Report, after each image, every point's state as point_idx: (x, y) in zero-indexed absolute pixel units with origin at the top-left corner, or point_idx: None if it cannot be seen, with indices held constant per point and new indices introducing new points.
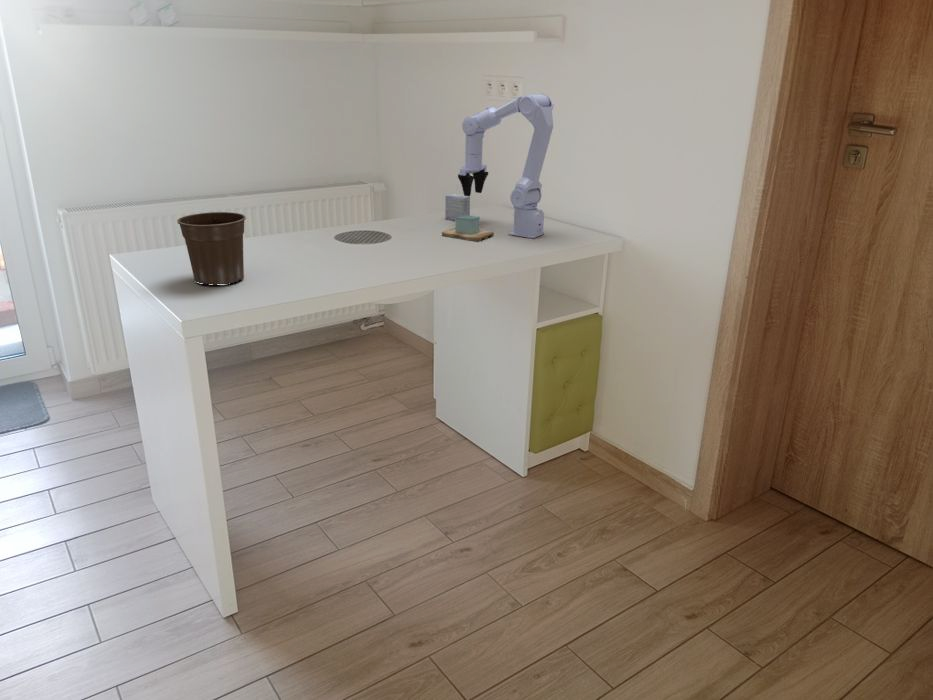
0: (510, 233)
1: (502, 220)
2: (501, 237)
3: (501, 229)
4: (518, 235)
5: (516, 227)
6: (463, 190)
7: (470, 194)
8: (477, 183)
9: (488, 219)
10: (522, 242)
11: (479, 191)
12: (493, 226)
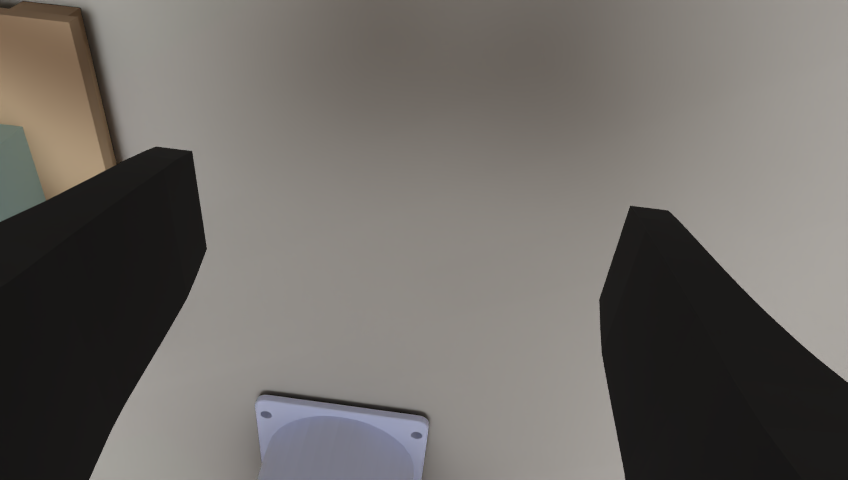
0: (257, 412)
1: (776, 224)
2: (168, 375)
3: (391, 316)
4: (262, 447)
5: (257, 478)
6: (78, 197)
7: (191, 275)
8: (665, 386)
9: (790, 82)
10: (157, 477)
11: (607, 300)
12: (463, 236)
